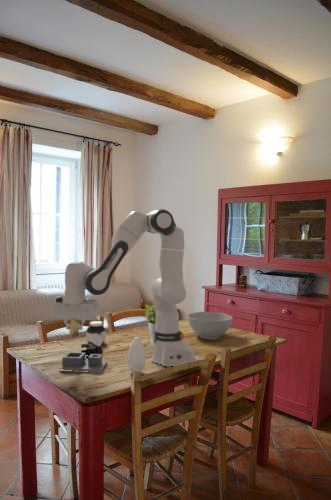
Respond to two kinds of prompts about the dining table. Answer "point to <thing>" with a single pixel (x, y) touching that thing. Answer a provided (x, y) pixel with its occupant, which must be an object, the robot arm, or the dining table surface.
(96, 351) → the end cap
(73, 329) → the pipe nipple
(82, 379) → the dining table surface
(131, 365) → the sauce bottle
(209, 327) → the decorative bowl
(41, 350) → the dining table surface
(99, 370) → the socket block
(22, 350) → the dining table surface
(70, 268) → the robot arm
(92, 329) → the spread jar
